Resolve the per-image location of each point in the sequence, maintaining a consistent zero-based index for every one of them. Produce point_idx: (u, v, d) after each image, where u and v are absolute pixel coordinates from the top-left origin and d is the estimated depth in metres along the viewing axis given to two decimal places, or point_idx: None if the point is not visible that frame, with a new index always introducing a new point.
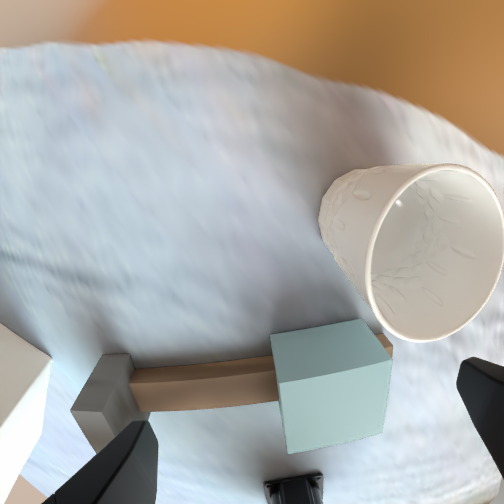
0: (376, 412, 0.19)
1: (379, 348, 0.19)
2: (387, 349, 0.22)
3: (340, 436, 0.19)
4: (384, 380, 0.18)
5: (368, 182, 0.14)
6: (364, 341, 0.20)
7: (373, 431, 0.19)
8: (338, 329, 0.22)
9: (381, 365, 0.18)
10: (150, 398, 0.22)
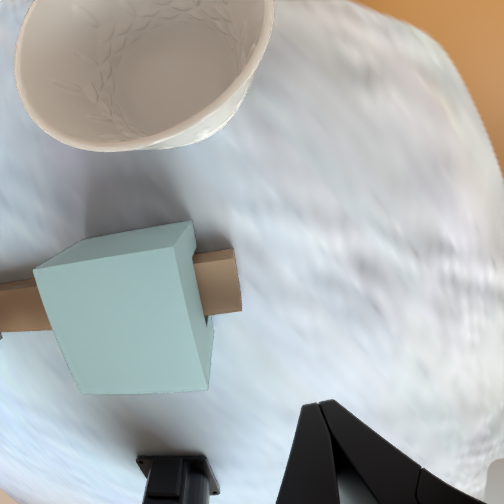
0: (180, 346, 0.14)
1: (172, 239, 0.14)
2: (224, 263, 0.17)
3: (137, 379, 0.14)
4: (171, 286, 0.13)
5: (97, 3, 0.09)
6: (164, 235, 0.15)
7: (190, 383, 0.14)
8: (150, 230, 0.17)
9: (156, 255, 0.12)
10: None
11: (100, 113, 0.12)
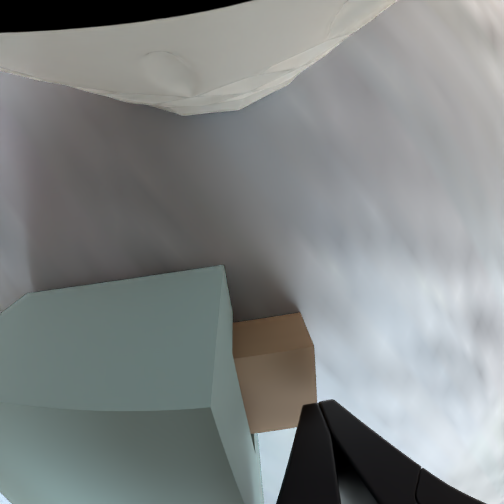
0: None
1: (196, 350, 0.05)
2: (296, 355, 0.08)
3: None
4: (206, 476, 0.04)
5: None
6: (171, 320, 0.06)
7: None
8: (140, 288, 0.08)
9: (160, 424, 0.04)
10: None
11: None
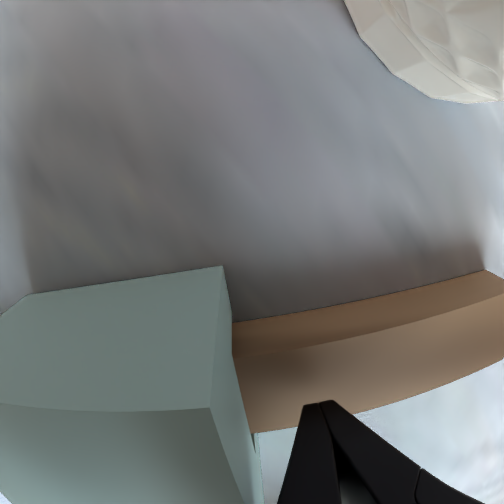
0: None
1: (195, 352, 0.05)
2: None
3: None
4: (206, 476, 0.04)
5: None
6: (170, 321, 0.06)
7: None
8: (140, 289, 0.08)
9: (160, 424, 0.04)
10: None
11: None
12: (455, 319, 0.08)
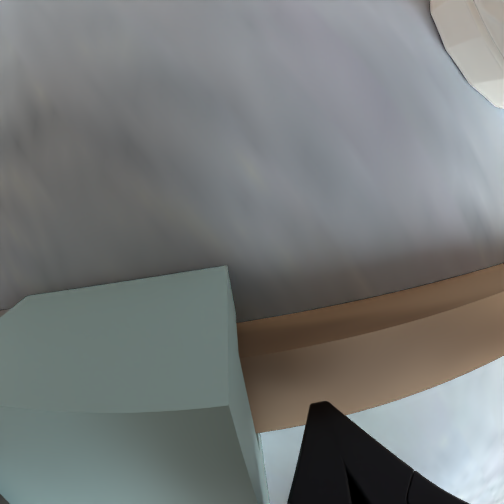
0: None
1: (208, 350, 0.05)
2: None
3: None
4: (221, 475, 0.04)
5: None
6: (179, 321, 0.06)
7: None
8: (144, 289, 0.08)
9: (177, 424, 0.04)
10: None
11: None
12: None
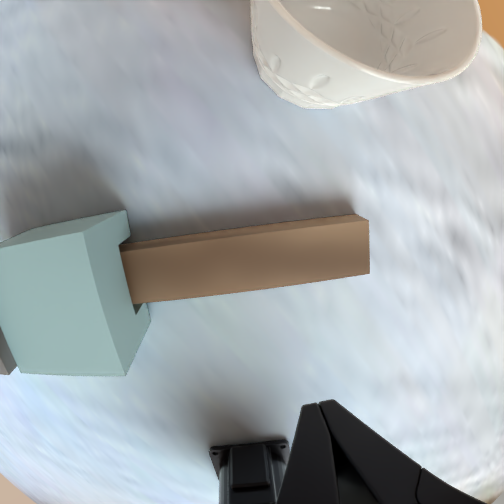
0: (96, 330, 0.13)
1: (89, 226, 0.13)
2: (360, 225, 0.16)
3: (63, 361, 0.13)
4: (83, 269, 0.12)
5: None
6: (89, 222, 0.14)
7: (109, 367, 0.14)
8: (85, 219, 0.16)
9: (69, 240, 0.12)
10: None
11: None
12: (314, 233, 0.16)
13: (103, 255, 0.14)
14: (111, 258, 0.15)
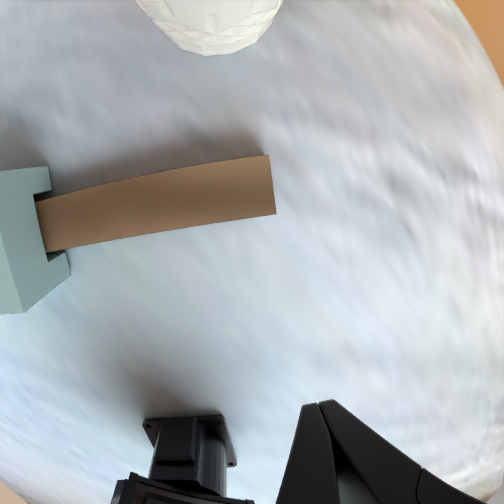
0: (0, 264, 0.12)
1: (2, 171, 0.12)
2: (259, 159, 0.15)
3: None
4: None
5: None
6: None
7: (12, 304, 0.13)
8: None
9: None
10: None
11: None
12: (207, 170, 0.16)
13: (12, 197, 0.13)
14: (22, 202, 0.14)
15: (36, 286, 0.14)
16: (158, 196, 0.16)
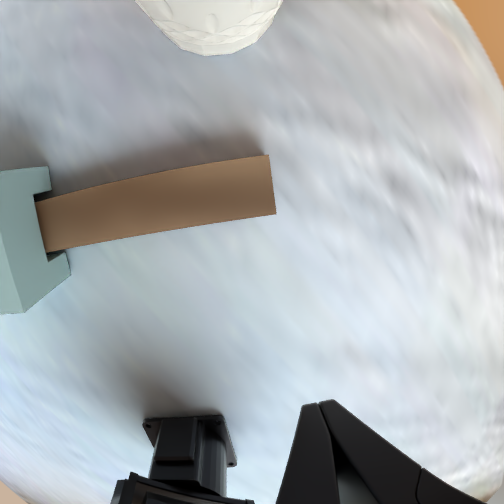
0: None
1: (2, 172, 0.12)
2: (259, 159, 0.15)
3: None
4: None
5: None
6: None
7: (11, 304, 0.13)
8: None
9: None
10: None
11: None
12: (207, 170, 0.16)
13: (12, 197, 0.13)
14: (21, 203, 0.14)
15: (36, 286, 0.14)
16: (158, 196, 0.16)
